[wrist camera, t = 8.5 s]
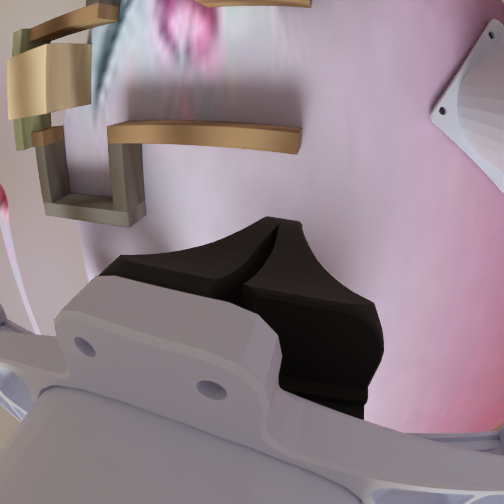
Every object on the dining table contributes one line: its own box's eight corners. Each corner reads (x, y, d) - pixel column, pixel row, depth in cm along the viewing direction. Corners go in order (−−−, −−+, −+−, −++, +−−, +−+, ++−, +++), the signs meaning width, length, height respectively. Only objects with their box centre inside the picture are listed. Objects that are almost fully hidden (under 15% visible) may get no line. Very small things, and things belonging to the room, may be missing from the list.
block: (92, 44, 18) (46, 43, 14) (91, 103, 21) (46, 113, 16) (51, 55, 19) (7, 59, 15) (51, 109, 22) (8, 120, 17)
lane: (313, -80, 11) (309, -105, 8) (291, 235, 22) (283, 260, 19) (49, -26, 15) (22, -30, 12) (52, 203, 26) (28, 218, 23)
